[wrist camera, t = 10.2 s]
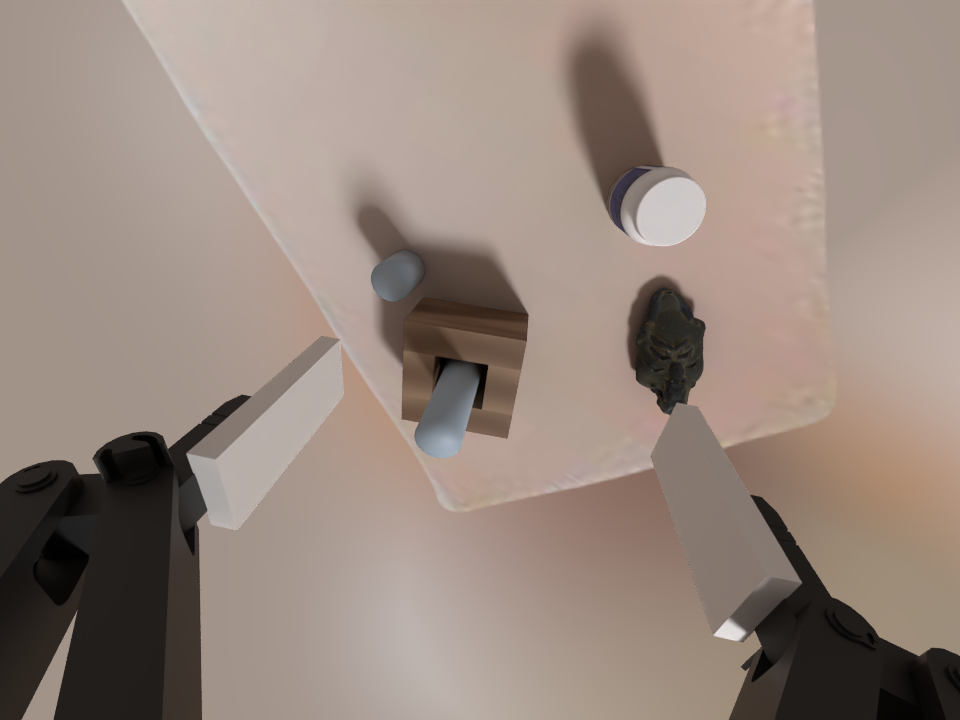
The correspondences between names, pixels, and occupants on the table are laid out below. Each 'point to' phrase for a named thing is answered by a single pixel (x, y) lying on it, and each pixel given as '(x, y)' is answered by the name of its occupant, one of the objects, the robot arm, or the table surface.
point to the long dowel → (449, 409)
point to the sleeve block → (464, 359)
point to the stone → (670, 349)
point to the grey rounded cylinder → (397, 275)
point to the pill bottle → (656, 205)
